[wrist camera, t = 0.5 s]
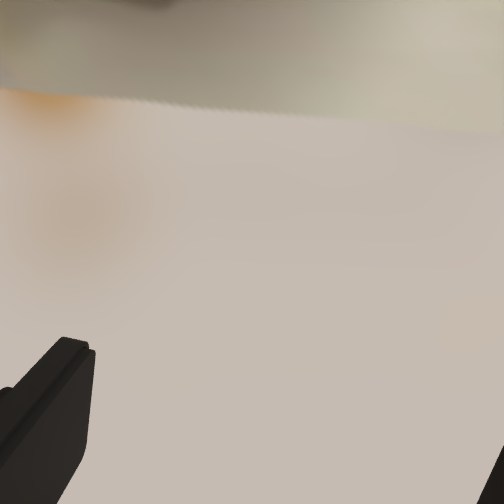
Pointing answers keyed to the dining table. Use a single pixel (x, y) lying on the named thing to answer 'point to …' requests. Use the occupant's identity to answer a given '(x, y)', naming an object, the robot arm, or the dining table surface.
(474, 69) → the dining table surface
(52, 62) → the dining table surface
